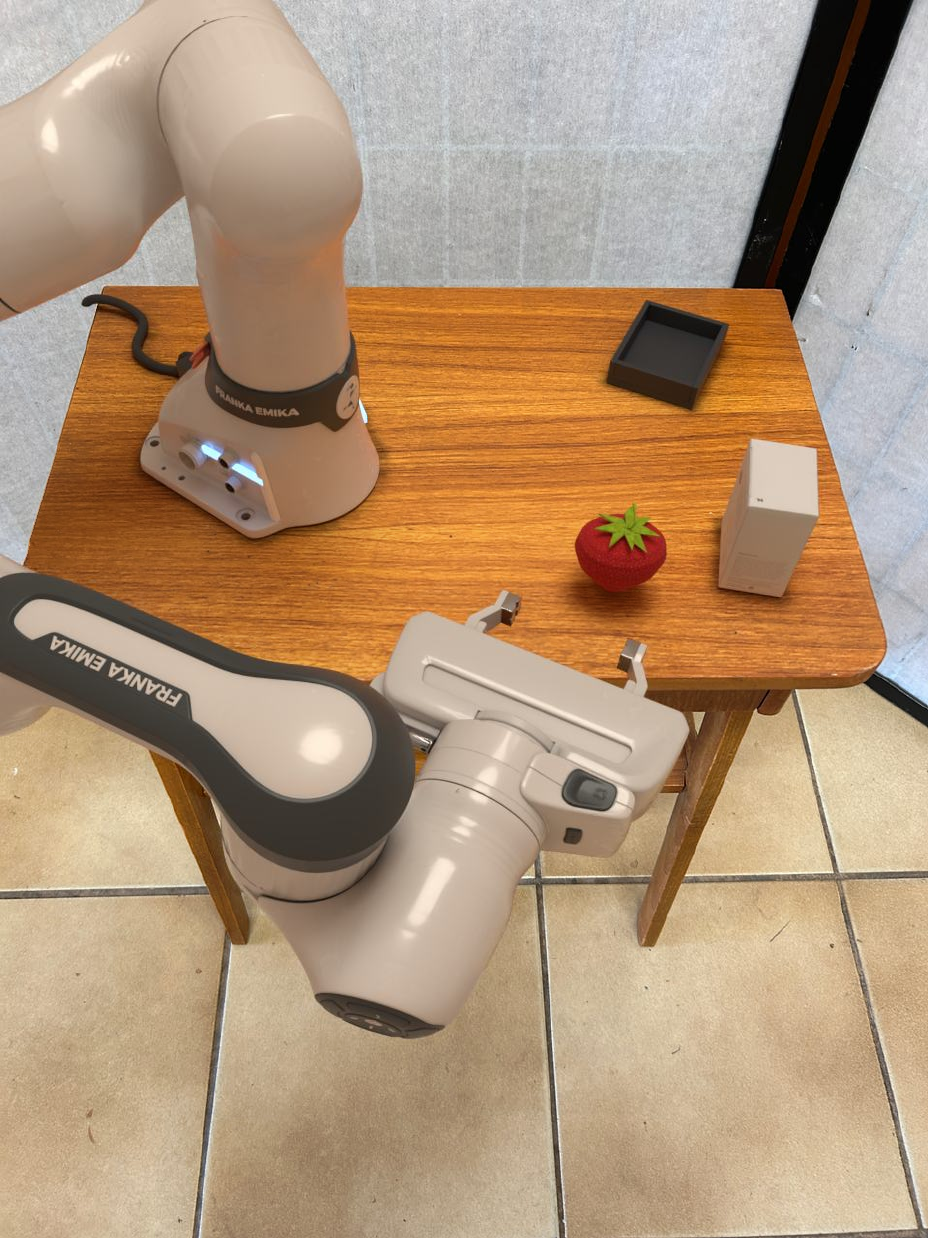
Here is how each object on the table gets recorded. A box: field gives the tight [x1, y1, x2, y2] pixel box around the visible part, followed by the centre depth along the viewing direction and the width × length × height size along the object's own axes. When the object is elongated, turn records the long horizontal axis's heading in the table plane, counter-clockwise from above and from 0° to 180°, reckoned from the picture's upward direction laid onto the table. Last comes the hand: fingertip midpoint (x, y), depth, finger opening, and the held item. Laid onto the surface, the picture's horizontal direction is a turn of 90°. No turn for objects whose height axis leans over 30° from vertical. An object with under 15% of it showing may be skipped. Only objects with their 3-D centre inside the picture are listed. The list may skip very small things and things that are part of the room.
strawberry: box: [574, 502, 668, 594], centre depth 78 cm, size 6×8×10 cm
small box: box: [717, 438, 820, 598], centre depth 80 cm, size 8×6×10 cm
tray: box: [606, 299, 730, 411], centre depth 99 cm, size 9×11×3 cm
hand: (573, 621), depth 67 cm, fingers open, 8 cm apart
